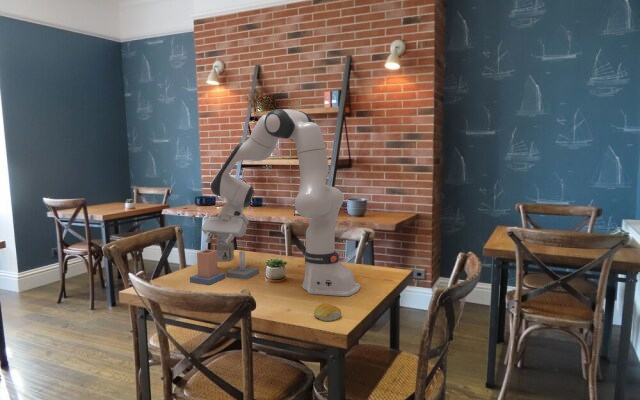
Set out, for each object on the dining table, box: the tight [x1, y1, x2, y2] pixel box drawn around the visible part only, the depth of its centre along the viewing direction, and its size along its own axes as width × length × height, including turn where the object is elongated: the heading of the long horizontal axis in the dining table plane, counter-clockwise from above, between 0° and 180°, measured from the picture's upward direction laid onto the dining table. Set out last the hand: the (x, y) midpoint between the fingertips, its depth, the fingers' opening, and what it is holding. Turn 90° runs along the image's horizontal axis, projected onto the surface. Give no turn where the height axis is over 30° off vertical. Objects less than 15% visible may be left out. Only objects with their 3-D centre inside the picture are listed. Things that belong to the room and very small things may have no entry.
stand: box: [225, 250, 260, 280], centre depth 190 cm, size 10×10×10 cm
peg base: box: [189, 272, 226, 286], centre depth 183 cm, size 10×10×9 cm
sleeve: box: [196, 249, 219, 278], centre depth 182 cm, size 6×6×10 cm
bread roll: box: [313, 302, 342, 322], centre depth 144 cm, size 8×9×4 cm
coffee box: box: [215, 235, 235, 262], centre depth 216 cm, size 9×6×16 cm
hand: (216, 242), depth 187 cm, fingers open, 8 cm apart
